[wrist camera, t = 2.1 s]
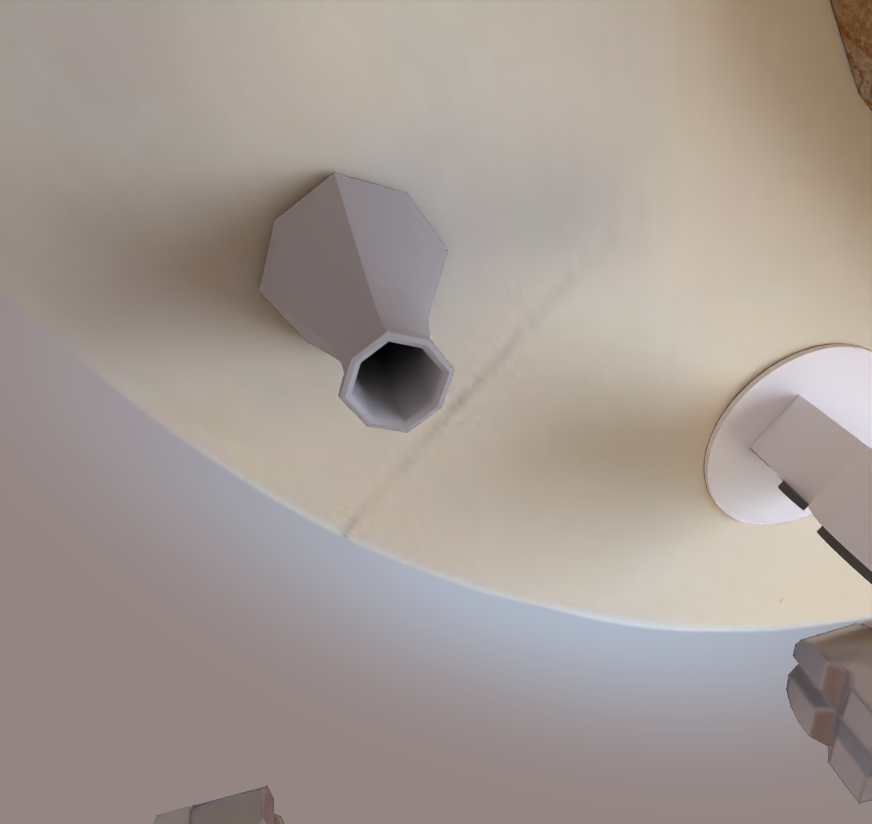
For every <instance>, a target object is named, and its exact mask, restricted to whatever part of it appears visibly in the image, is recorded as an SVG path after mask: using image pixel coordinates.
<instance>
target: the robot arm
mask: <svg viewBox="0 0 872 824" xmlns="http://www.w3.org/2000/svg"><path fill="white" fill-rule="evenodd" d="M793 657H794V658H795V659H796V660H797V662H798V663H799V664H798V665H797V666H796V667H795V668H794V669H793V670H792V671H791V673H790V674H789V675H788V681H787V688H786V690H787V694H788V698H789V702H790V706H791V708H792V710H793V712H794V714H795V716H796V718H797V720H798V722H799V723H800V724H801V726H802V727H803V729H804V730H805V731H806V733H807V734H808V736H810V737H812V738H813V739H815V740H817V741H819V742H821V743H823V744H825V745H826V746H828V763H829V764H830V766H831V767H832V768H833V770H834V771H835V772H836V774H837V775H838V776H839V778H840V779H841V780H842V782H843V783H844V784H845V786H846V787H847V788H848V790H849V791H850V792H851V794H852V795H853V796H854V798H855V799H856V800H857V802H858V803H859V804H860V803H864V802H867V801H871V800H872V620H869V621H865V622H862V623H858V624H857V623H855V624H852V625H849V626H845V627H842V628H839V629H835V630H832V631H828V632H825V633H822V634H818V635H815V636H811V637H808V638H805V639H801V640H800V641H799V642H798V643H797V644H796V645H795V648H794V652H793ZM154 824H284V822H283V820H282V817H281V816H279V815H276V814H274V798H273V796H272V794H271V792H270V790H269V788H268V786H266V787H262V788H258V789H255V790H251V791H247V792H244V793H239V794H236V795H232V796H228V797H225V798H221V799H217V800H213V801H210V802H206V803H202V804H199V805H192V806H189V807H185V808H181V809H178V810H174V811H171V812H168V813H164V814H160V815H157V816H156V819H155V821H154Z"/></svg>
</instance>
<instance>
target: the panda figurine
mask: <svg viewBox="0 0 872 824" xmlns="http://www.w3.org/2000/svg"><path fill="white" fill-rule="evenodd" d="M704 474H705V482H706V485H707V489H708V491H709V493H710V495H711V497H712V499H713V500H714V502H715V503H716V504H717V505H718V506H719V507H720V508H721V509H722V510H723V511H724V512H725V513H726V514H727V515H729V516H731V517H732V518H734V519H736V520H738V521H742V522H745V523H749V524H756V525H773V524H780V523H785V522H790V521H793V520H797V519H800V518H803V517H805V516H807V515H810V514H813V515H814V516H815V518H816V519H817V520H818V521H819V522H820V524H821V525H822V527H821V528H820V529H819V530H818V531H817V533H818V534H819V535H820V536H821V537H822V538H823V539H824V540H825V541H826V542H827V543H828V544H829V545H830V546H831V547H832V548H833V549H834V550H835V551H836V552H837V553H838V554H839V555H840V556H841V557H842V558H843V559H844V560H845V561H847V562H848V563H849V564H850V565H851V566H852V567H853V568H854V569H855V570H856V571H858V572H859V573H860V574H861V575H862V576H863V577H864V578H865V579H866V580H868V581H869V582H870V583H871V584H872V351H870V350H868V349H865V348H863V347H860V346H855V345H849V344H830V345H823V346H818V347H813V348H810V349H807V350H804V351H801V352H798V353H796V354H793V355H791V356H789V357H787V358H785V359H783V360H781V361H780V362H778V363H776V364H775V365H773V366H771V367H770V368H768V369H767V370H765V371H764V372H763V373H761V374H760V375H759V376H758V377H756V378H755V379H754V380H753V381H751V382H750V383H749V384H748V385H747V386H746V387H745V388H744V389H743V390H742V391H741V392H740V393H739V394H738V395H737V396H736V398H735V399H734V400H733V401H732V402H731V404H730V405H729V406H728V408H727V409H726V410H725V412H724V413H723V415H722V416H721V418H720V420H719V421H718V423H717V425H716V427H715V429H714V431H713V433H712V436H711V438H710V441H709V444H708V447H707V451H706V455H705V463H704Z"/></svg>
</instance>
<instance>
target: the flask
mask: <svg viewBox="0 0 872 824" xmlns="http://www.w3.org/2000/svg"><path fill="white" fill-rule="evenodd" d="M447 251H448V249H447V248H446V247H445V245H444V244H443V243H442V241H441V240H440V238H439V237H438V236H437V234H436V233H435V232H434V230H433V229H432V227H431V226H430V225H429V223H428V222H427V220H426V219H425V218H424V216H423V215H422V214H421V212H420V211H419V209H418V208H417V207H416V205H415V204H414V202H413V201H412V200H411V198H410V197H409V196H408V194H407V193H404V192H401V191H397V190H394V189H390V188H386V187H383V186H379V185H376V184H372V183H369V182H365V181H362V180H358V179H355V178H351V177H347V176H344V175H340V174H337V173H333V174H332V175H331V176H329V177H328V178H327V179H326V180H324V181H323V182H322V183H321V184H319V185H318V186H317V187H316V188H314V189H313V190H312V191H311V192H309V193H308V194H307V195H306V196H305V197H303V198H302V199H301V200H300V201H298V202H297V203H296V204H295V205H293V206H292V207H291V208H290V209H288V210H287V211H286V212H285V213H283V214H282V215H281V216H280V217H278V218H277V219H276V220H275V221H274V225H273V230H272V234H271V239H270V243H269V248H268V252H267V257H266V262H265V266H264V271H263V275H262V280H261V284H260V289H259V291H260V292H261V294H262V295H263V296H264V297H265V298H266V299H267V300H268V301H269V302H270V303H271V304H272V305H273V306H274V307H275V308H276V309H277V311H278V312H279V313H280V314H281V315H282V316H283V317H284V318H285V319H286V320H287V321H288V322H289V323H290V324H291V325H292V326H293V327H294V329H295V330H296V331H297V332H298V333H299V334H300V335H301V336H302V337H303V338H304V339H305V340H306V341H307V342H308V343H310V344H311V345H313V346H315V347H317V348H319V349H321V350H323V351H324V352H326V353H328V354H330V355H332V356H333V357H334V358H336V359H337V360H339V361H340V362H341V364H342V367H343V370H344V376H343V380H342V383H341V386H340V390H339V394H338V395H339V397H340V399H341V400H342V401H343V402H344V403H345V404H346V405H347V406H348V407H349V408H350V409H351V410H352V411H353V412H354V413H355V414H356V415H357V417H358V418H359V419H360V420H361V421H362V422H363V423H364V424H365V425H366V426H369V427H376V428H382V429H388V430H394V431H400V432H406V433H407V432H409V431H410V430H411V429H413V428H414V427H416V426H417V425H418V424H420V423H421V422H422V421H424V420H425V419H427V418H428V417H429V416H431V415H432V414H433V413H435V412H436V411H438V410H439V409H440V408H441V407H442V404H443V401H444V398H445V396H446V393H447V390H448V387H449V385H450V382H451V379H452V376H453V374H454V368H453V366H452V365H451V364H450V363H449V362H448V360H447V359H446V358H445V357H444V355H443V354H442V353H441V352H440V350H439V349H438V348H437V347H436V346H435V344H434V343H433V342H432V341H431V339H430V338H429V326H428V316H429V312H430V308H431V304H432V300H433V296H434V293H435V289H436V286H437V283H438V280H439V277H440V274H441V271H442V268H443V265H444V262H445V258H446V255H447Z"/></svg>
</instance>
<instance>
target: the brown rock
mask: <svg viewBox="0 0 872 824" xmlns="http://www.w3.org/2000/svg"><path fill="white" fill-rule="evenodd" d="M831 2H832V5H833V9H834V12H835V15H836V19H837V22H838V25H839V29H840V32H841V35H842V39H843V42H844V45H845V48H846V52H847V55H848V58H849V62H850V65H851V68H852V72H853V75H854V78H855V82H856V85H857V88H858V92H859V94H860V95H861V97H862V98H863V99H864V101H865V102H866V103H867V105H868V106H869V107H870V109H871V110H872V0H831Z"/></svg>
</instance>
